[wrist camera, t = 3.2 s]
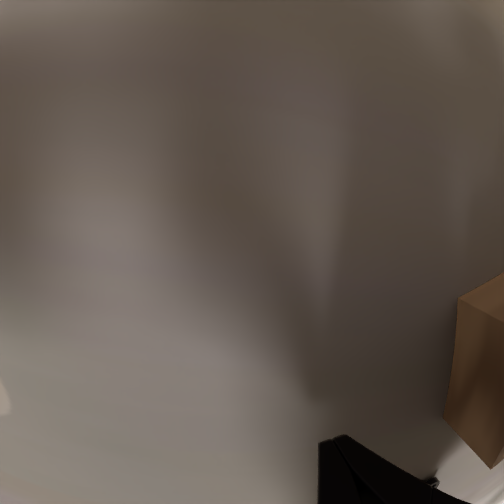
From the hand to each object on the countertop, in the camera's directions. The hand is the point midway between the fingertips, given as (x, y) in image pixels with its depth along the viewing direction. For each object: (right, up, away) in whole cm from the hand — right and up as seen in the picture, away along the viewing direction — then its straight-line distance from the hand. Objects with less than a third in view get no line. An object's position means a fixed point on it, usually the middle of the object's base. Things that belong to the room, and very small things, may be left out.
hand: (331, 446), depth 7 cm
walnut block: (+8, +2, +2) cm, 9 cm away
